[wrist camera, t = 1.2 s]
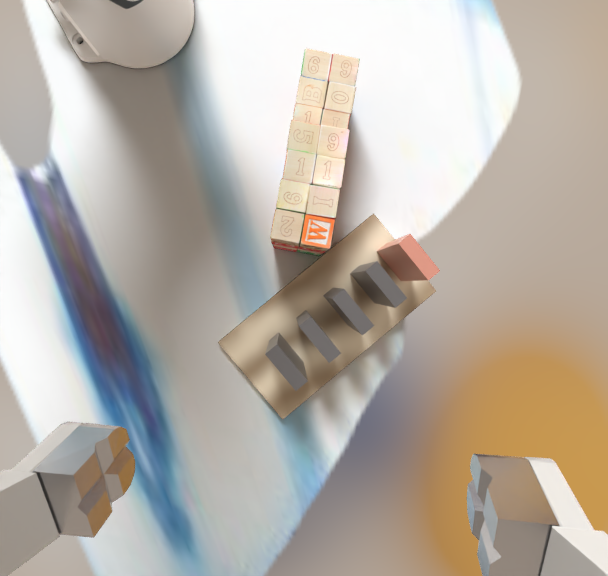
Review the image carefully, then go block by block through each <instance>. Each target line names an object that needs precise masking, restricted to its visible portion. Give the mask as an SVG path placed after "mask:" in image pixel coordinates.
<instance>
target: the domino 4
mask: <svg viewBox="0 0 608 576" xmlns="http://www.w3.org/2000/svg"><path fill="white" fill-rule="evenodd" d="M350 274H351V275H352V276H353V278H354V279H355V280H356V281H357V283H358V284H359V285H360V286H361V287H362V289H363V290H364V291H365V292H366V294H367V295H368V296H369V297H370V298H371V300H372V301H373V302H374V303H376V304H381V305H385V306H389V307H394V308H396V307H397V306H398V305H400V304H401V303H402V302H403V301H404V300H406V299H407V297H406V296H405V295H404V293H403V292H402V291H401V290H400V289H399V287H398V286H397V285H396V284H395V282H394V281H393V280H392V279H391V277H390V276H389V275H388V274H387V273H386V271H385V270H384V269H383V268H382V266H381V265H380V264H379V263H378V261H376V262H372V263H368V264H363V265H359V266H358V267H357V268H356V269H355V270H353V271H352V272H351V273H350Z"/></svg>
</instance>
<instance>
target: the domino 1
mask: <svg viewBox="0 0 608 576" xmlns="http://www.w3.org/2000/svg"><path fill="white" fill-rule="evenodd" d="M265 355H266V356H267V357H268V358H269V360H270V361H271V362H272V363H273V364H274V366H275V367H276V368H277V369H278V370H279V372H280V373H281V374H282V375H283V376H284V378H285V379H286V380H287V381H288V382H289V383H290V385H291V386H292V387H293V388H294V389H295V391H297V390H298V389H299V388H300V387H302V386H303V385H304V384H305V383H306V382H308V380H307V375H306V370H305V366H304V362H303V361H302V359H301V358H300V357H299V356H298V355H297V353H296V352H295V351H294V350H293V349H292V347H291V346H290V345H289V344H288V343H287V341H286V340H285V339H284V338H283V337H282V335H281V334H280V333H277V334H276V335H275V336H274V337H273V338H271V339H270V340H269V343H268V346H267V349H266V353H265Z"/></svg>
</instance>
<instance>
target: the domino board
mask: <svg viewBox="0 0 608 576" xmlns="http://www.w3.org/2000/svg"><path fill="white" fill-rule="evenodd" d="M393 240H395V239H394V238H393V237H392V236H391V234H390V233H389V232H388V231H387V229H386V228H385V227H384V226H383V224H382V223H381V222H380V221H379V219H378V218H377V217H376V216H375V215H374V214H373V215H371V216H370V217H369V218H368V219H366V220H365V221H364V222H363V223H362V224H360V225H359V226H358V227H357V228H356V229H354V230H353V231H352V232H351V233H350V234H348V235H347V236H346V237H345V238H343V239H342V240H341V241H340V242H339V243H337V244H336V245H335V246H334V247H333V248H331V249H330V250H329V251H328V252H327V253H325V254H324V255H323V256H322V257H320V258H319V259H318V260H317V261H316V262H314V263H313V264H312V265H311V266H310V267H308V268H307V269H306V270H305V271H304V272H302V273H301V274H300V275H299V276H297V277H296V278H295V279H294V280H293V281H291V282H290V283H289V284H288V285H287V286H285V287H284V288H283V289H282V290H281V291H279V292H278V293H277V294H276V295H274V296H273V297H272V298H271V299H270V300H268V301H267V302H266V303H265V304H264V305H262V306H261V307H260V308H259V309H257V310H256V311H255V312H254V313H253V314H251V315H250V316H249V317H248V318H247V319H245V320H244V321H243V322H242V323H241V324H239V325H238V326H237V327H236V328H234V329H233V330H232V331H231V332H230V333H228V334H227V335H226V336H225V337H224V338H222V339H221V340H220V341H219V342H218V343H219V344H220V346H221V347H222V348H223V349H224V350H225V352H226V353H227V354H228V355H229V356H230V357H231V359H232V360H233V361H234V362H235V363H236V365H237V366H238V367H239V368H240V369H241V371H242V372H243V373H244V374H245V375H246V376H247V378H248V379H249V380H250V381H251V382H252V384H253V385H254V386H255V387H256V388H257V390H258V391H259V392H260V393H261V394H262V395H263V397H264V398H265V399H266V400H267V401H268V403H269V404H270V405H271V406H272V407H273V409H274V410H275V411H276V412H277V413H278V414H279V416H280V417H281V418H282V419H284V418H285V417H286V416H288V415H289V414H290V413H291V412H292V411H294V410H295V409H296V408H297V407H298V406H300V405H301V404H302V403H303V402H304V401H306V400H307V399H308V398H309V397H310V396H312V395H313V394H314V393H315V392H316V391H317V390H319V389H320V388H321V387H322V386H323V385H325V384H326V383H327V382H328V381H329V380H331V379H332V378H333V377H334V376H335V375H337V374H338V373H339V372H340V371H341V370H343V369H344V368H345V367H346V366H347V365H349V364H350V363H351V362H352V361H353V360H355V359H356V358H357V357H358V356H359V355H361V354H362V353H363V352H364V351H365V350H366V349H368V348H369V347H370V346H371V345H372V344H374V343H375V342H376V341H377V340H378V339H380V338H381V337H382V336H383V335H384V334H386V333H387V332H388V331H389V330H390V329H392V328H393V327H394V326H395V325H396V324H398V323H399V322H400V321H401V320H402V319H404V318H405V317H406V316H407V315H408V314H409V313H411V312H412V311H413V310H414V309H415V308H417V307H418V306H419V305H420V304H421V303H423V302H424V301H425V300H426V299H427V298H429V297H430V296H431V295H432V294H433V293H435V292H436V290H435V289H434V287H433V286H432V285H431V284H430V282H429V281H428V280H426V281H400V279H399V278H398V277H397V276H396V274H395V273H394V272H393V271H392V270H391V268H390V267H389V266H388V265H387V263H386V262H385V261H384V260H383V258H382V257H381V256H380V255H379V254H378V252H377V251H378V250H379V249H380V248H381V247H382V246H384V245H385V244H386V243H388V242H391V241H393ZM376 261H378V263H379V264H380V265H381V266H382V268H383V269H384V270H385V271H386V273H387V274H388V275H389V276H390V277H391V279H392V280H393V281H394V282H395V284H396V285H397V286H398V287H399V289H400V290H401V291H402V292H403V293H404V295H405V296H406V297H407V299H406V300H404V301H403V302H402V303H401V304H400V305H398V306H397V307H396V308H394V307H389V306H385V305H381V304H376V303H374V302H373V301H372V300H371V298H370V297H369V296H368V295H367V294H366V292H365V291H364V290H363V289H362V287H361V286H360V285H359V284H358V283H357V281H356V280H355V279H354V278H353V276H352V275H351V274H350V273H351V272H352V271H353V270H355V269H356V268H357V267H358V266H359V265H363V264H368V263H372V262H376ZM332 288H342V289H345V291H346V292H347V293H348V294H349V295H350V297H351V298H352V299H353V300H354V301H355V303H356V304H357V305H358V306H359V308H360V309H361V310H362V311H363V312H364V314H365V315H366V316H367V317H368V319H369V320H370V321H371V322H372V323H373V325H374V326H373V327H372V328H371V329H370V330H369V331H367V332H366V333H365V334H364V335H361V334H360V333H358V332H357V331H355V330H354V329H352V328H351V327H349V326H348V325H347V324H346V323H345V321H344V320H343V319H342V318H341V317H340V315H339V314H338V313H337V312H336V310H335V309H334V308H333V307H332V306H331V304H330V303H329V302H328V301H327V300H326V298H325V297H324V296H323V295H324V294H326V293H327V292H328V291H329V290H330V289H332ZM305 310H306V311H307V312H308V313H309V314H310V315H311V317H312V318H313V319H314V320H315V322H316V323H317V324H318V325H319V326H320V328H321V329H322V330H323V331H324V332H325V334H326V335H327V336H328V337H329V338H330V340H331V341H332V342H333V343H334V345H335V346H336V347H337V349H338V350H339V351H340V352H341V354H340V355H339V356H337V357H336V358H335V359H334V360H333V361H331V362H330V363H329V362H328V361H327V360H326V359H325V357H324V356H323V355H322V354H321V353H320V351H319V350H318V349H317V348H316V347H315V345H314V344H313V343H312V342H311V341H310V339H309V338H308V337H307V336H306V335H305V333H304V332H303V331H302V330H301V328H300V327H299V326H298V322H297V319H296V318H297V317H298V316H299V315H300V314H302V313H303V312H304V311H305ZM277 333H280V334H281V335H282V337H283V338H284V339H285V340H286V341H287V343H288V344H289V345H290V346H291V347H292V349H293V350H294V351H295V352H296V353H297V355H298V356H299V357H300V358H301V359H302V361H303V362H304V366H305V370H306V375H307V380H308V382H306V383H305V384H304V385H303V386H302V387H300V388H299V389H298V390H297V391H295V389H294V388H293V387H292V386H291V385H290V383H289V382H288V381H287V380H286V379H285V378H284V376H283V375H282V374H281V373H280V372H279V370H278V369H277V368H276V367H275V366H274V364H273V363H272V362H271V361H270V360H269V358H268V357H267V356H266V355H265V353H266V349H267V346H268V343H269V340H270V339H271V338H273V337H274V336H275V335H276V334H277Z"/></svg>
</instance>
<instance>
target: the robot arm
mask: <svg viewBox="0 0 608 576" xmlns="http://www.w3.org/2000/svg"><path fill="white" fill-rule="evenodd" d="M47 1H48V3H49V5H50V7H51V9H52V10H53V12H54V14H55V16H56V18H57V19H58V21H59V23H60V25H61V27H62V29H63V30H64V32H65V34H66V36H67V38H68V39H69V41H70V43H71V45H72V47H73V49H74V50H75V52H76V54H77V55H78V57H79V58H80V59H81V60H82V61H84V62H90V63H92V62H105V61H106V62H111V63H115V64H118V65H121V66H124V67H129V68H148V67H153V66H156V65H159V64H161V63H164V62H166V61H167V60H169V59H171V58H172V57H173V56H175V55H176V54H177V53H178V52H179V51H180V50H181V49H182V47H183V46H184V45H185V43H186V42H187V40H188V38H189V36H190V34H191V31H192V28H193V23H194V13H195V12H194V1H193V0H47ZM81 41H83V43H82V44H80V42H81ZM129 440H130V439H129V436H128V433H127V430H126V429H125V428H123V427H119V426H110V425H100V424H91V423H77V422H66V423H63V424H61V425H60V426H59V427H57V428H56V429H55V430H54V431H53V432H52V433H51V434H50V435H49V436H48V437H46V438H45V439H44V440H43V441H42V442H41V443H40V444H39V445H38V446H37V447H35V448H34V449H33V450H32V451H31V452H30V453H29V454H28V455H27V456H26V457H24V459H22V460H21V461H20V462H19V463H18V464H17V465H16V466H15V467H14V468H13V469H11V470H3V471H1V472H0V576H8V575H10V574H11V573H12V572H13V571H15V570H16V569H17V568H19V567H20V566H21V565H23V564H24V563H25V562H27V561H28V560H29V559H31V558H32V557H33V556H35V555H36V554H37V553H39V552H40V551H41V550H43V549H44V548H45V547H46V546H48V545H49V544H51V543H52V542H53V541H54V540H56V539H57V538H58V537H59V536H60V535H59V534H63V535H72V536H83V537H93V538H94V537H95V535H96V534H97V532H98V531H99V530H100V528H101V527H102V525H103V524H104V523H105V521H106V520H107V518H108V517H109V515H110V514H111V513H112V502H114V501H115V500H117V499H118V498H120V497H122V496H123V495H124V494H125V492H126V491H127V489H128V488H129V486H130V485H131V482H132V479H133V476H134V473H135V459H134V455H133V453H132V452H131V451H130V450H129V449H128V448H127V447H126V445H127V444H128V442H129ZM470 469H471V473H472V476H473V481H471V482H470V483H469V484H468V492H467V510H468V516H469V522H470V527H471V531H472V534H473V535H474V536H475V537H476V538H477V539H478V540H479V547H478V559H479V563H480V567H481V570H482V574H483V576H608V535H607V534H606V533H605V532H603V531H596V530H594V529H593V527H592V525H591V524H590V522H589V520H588V518H587V517H586V515H585V513H584V512H583V510H582V508H581V506H580V504H579V503H578V501H577V499H576V497H575V496H574V494H573V492H572V490H571V489H570V487H569V485H568V483H567V482H566V480H565V478H564V476H563V475H562V473H561V472H560V470H559V468H558V466H557V464H556V463H555V462H554V461H553V460H552V459H548V458H532V457H524V458H522V457H511V456H498V455H484V454H483V455H482V454H473V456H472V459H471V466H470Z"/></svg>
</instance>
